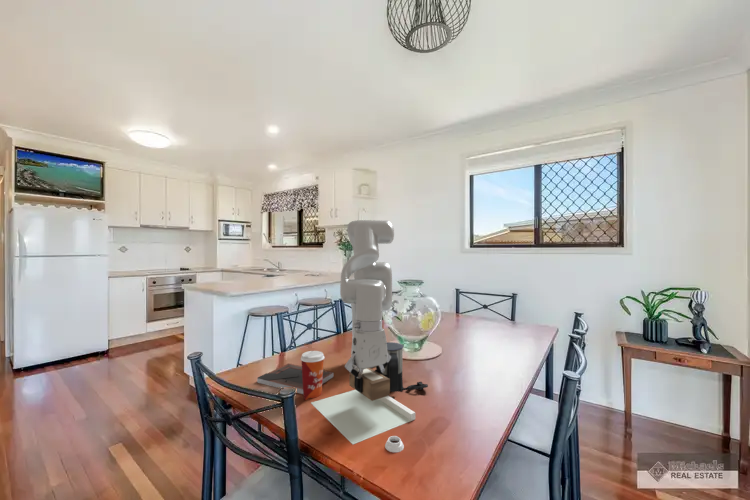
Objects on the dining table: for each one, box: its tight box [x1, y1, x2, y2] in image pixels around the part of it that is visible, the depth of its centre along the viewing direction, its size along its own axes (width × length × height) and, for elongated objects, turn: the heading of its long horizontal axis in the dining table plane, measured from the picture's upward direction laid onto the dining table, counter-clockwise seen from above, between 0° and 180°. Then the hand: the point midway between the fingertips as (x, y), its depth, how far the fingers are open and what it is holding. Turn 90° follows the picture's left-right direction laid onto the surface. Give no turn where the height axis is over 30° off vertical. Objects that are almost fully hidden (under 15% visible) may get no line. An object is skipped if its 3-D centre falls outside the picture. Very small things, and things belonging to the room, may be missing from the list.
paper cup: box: [300, 350, 325, 401], centre depth 102 cm, size 8×8×14 cm
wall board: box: [310, 389, 416, 445], centre depth 91 cm, size 20×25×5 cm
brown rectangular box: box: [348, 368, 391, 401], centre depth 91 cm, size 12×6×5 cm, turn 35°
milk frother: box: [383, 341, 429, 393], centre depth 108 cm, size 14×16×15 cm
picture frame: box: [256, 363, 334, 395], centre depth 116 cm, size 16×2×22 cm
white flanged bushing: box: [384, 435, 405, 453], centre depth 75 cm, size 5×3×5 cm
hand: (368, 387), depth 91 cm, fingers closed on brown rectangular box, 6 cm apart
